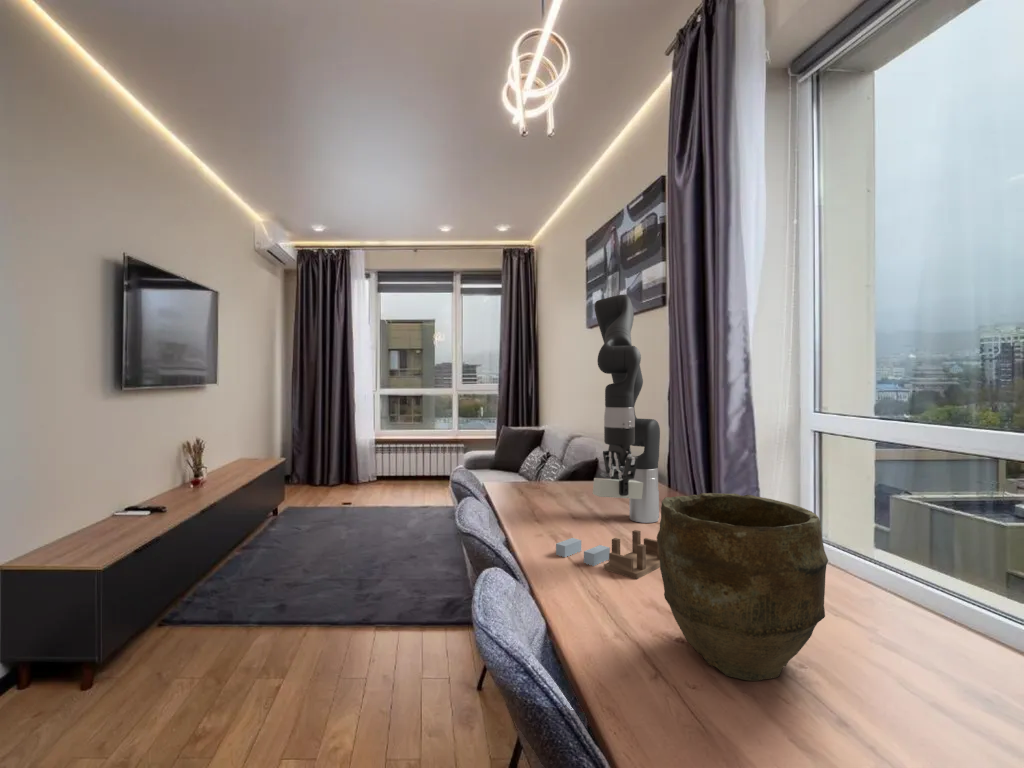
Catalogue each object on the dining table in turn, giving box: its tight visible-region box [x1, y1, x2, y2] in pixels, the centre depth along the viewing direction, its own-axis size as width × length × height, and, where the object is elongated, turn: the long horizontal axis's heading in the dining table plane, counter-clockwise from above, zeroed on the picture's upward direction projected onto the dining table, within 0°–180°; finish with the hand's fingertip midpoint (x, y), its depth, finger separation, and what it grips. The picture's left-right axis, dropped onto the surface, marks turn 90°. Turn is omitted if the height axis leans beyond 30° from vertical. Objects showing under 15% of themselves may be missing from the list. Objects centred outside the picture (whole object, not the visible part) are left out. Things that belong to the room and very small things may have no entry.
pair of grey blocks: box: [555, 537, 611, 567], centre depth 132 cm, size 7×12×3 cm, turn 45°
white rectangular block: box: [592, 477, 643, 499], centre depth 128 cm, size 4×12×4 cm, turn 107°
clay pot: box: [656, 492, 829, 682], centre depth 84 cm, size 25×25×25 cm
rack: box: [603, 529, 660, 580], centre depth 126 cm, size 17×9×7 cm, turn 135°
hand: (619, 493), depth 128 cm, fingers closed on white rectangular block, 3 cm apart
